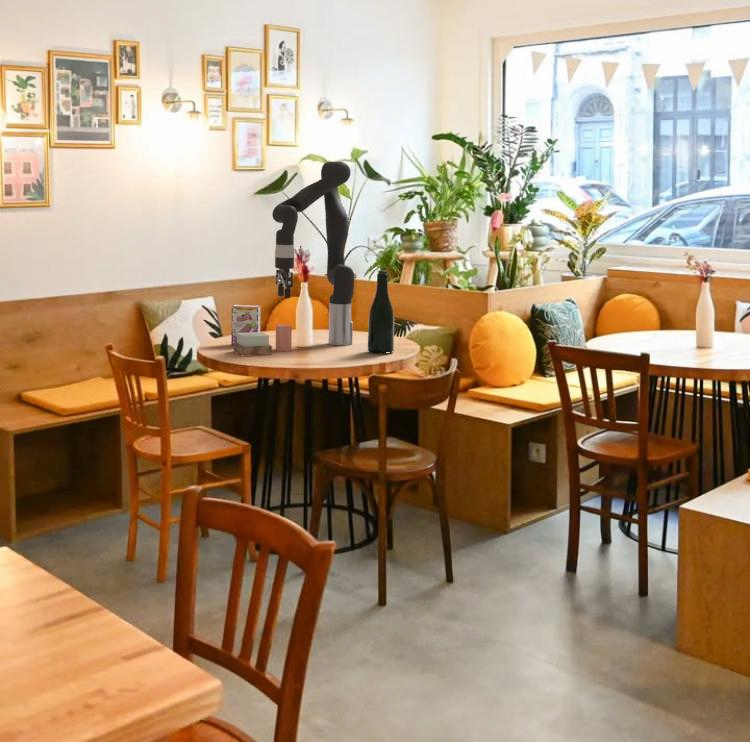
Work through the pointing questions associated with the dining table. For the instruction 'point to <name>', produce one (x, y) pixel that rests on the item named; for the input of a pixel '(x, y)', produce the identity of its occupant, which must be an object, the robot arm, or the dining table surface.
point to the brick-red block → (283, 337)
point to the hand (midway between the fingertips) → (284, 297)
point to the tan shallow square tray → (252, 350)
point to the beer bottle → (381, 318)
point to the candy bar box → (244, 320)
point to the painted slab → (253, 339)
